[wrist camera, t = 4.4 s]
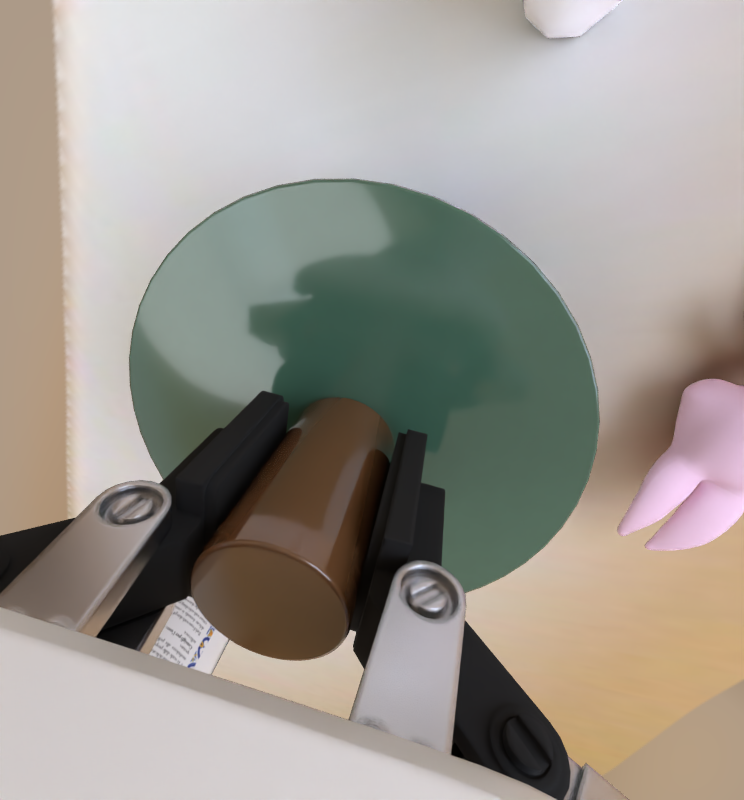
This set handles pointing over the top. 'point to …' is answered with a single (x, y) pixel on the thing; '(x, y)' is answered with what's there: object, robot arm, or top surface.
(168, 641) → the bath foam
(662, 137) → the top surface
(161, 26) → the top surface
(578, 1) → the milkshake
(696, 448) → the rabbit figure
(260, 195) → the pot lid
